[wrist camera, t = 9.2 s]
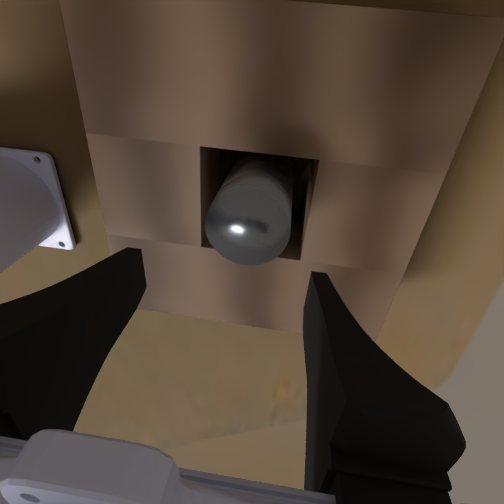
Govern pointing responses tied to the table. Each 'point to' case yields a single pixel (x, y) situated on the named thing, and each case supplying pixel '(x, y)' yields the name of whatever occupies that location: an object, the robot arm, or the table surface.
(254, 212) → the dark metallic cylinder
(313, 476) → the robot arm
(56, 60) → the table surface
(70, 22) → the hole block
